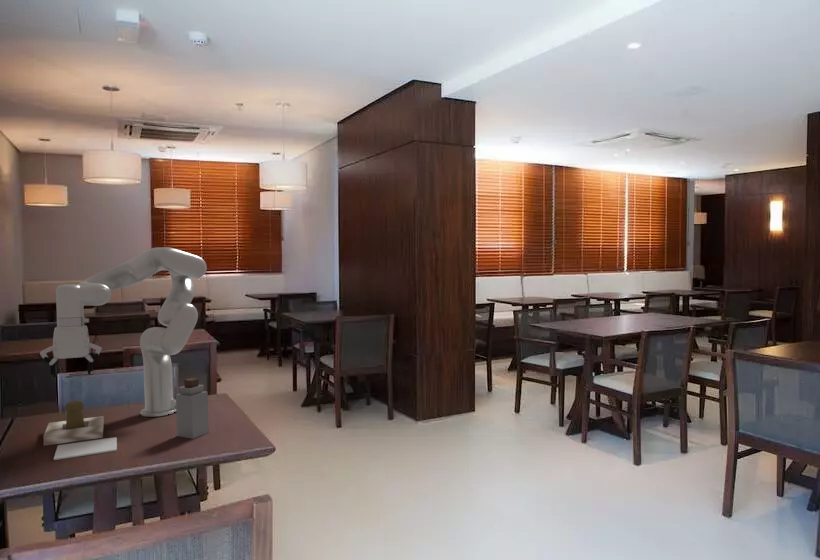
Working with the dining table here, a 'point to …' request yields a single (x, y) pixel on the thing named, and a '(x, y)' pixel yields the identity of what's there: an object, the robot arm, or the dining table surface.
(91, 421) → the shaker holder
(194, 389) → the perfume bottle
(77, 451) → the grey mat
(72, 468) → the dining table surface
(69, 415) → the cork
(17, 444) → the dining table surface
